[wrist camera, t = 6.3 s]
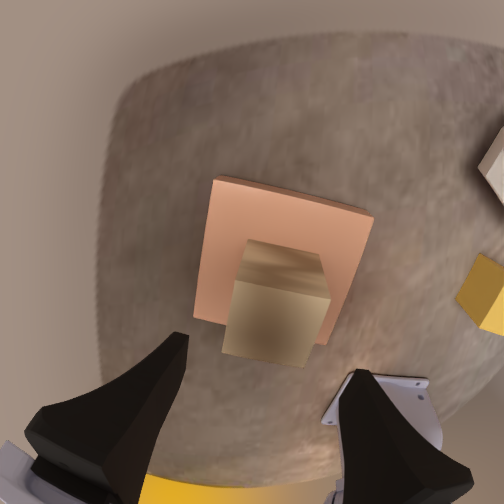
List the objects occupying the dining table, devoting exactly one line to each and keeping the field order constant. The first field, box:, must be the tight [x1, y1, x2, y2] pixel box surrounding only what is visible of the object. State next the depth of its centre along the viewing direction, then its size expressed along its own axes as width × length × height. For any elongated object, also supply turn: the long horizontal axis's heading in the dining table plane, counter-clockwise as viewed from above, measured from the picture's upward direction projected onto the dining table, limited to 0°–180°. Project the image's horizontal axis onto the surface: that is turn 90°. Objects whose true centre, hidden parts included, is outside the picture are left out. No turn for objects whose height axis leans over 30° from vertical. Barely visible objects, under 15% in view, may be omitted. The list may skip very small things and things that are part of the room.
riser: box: [193, 175, 374, 345], centre depth 20 cm, size 10×10×2 cm
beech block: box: [221, 239, 331, 368], centre depth 17 cm, size 4×4×6 cm
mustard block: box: [455, 253, 504, 336], centre depth 18 cm, size 4×4×4 cm
